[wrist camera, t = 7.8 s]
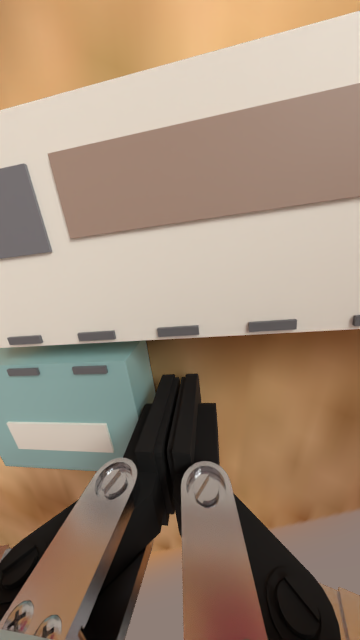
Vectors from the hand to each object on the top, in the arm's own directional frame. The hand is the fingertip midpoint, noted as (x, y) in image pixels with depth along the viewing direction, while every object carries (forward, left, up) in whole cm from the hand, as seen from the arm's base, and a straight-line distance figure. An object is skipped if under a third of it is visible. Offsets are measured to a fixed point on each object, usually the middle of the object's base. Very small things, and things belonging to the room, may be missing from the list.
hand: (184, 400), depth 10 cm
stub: (+6, 0, -1) cm, 6 cm away
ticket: (-2, -7, -1) cm, 8 cm away
